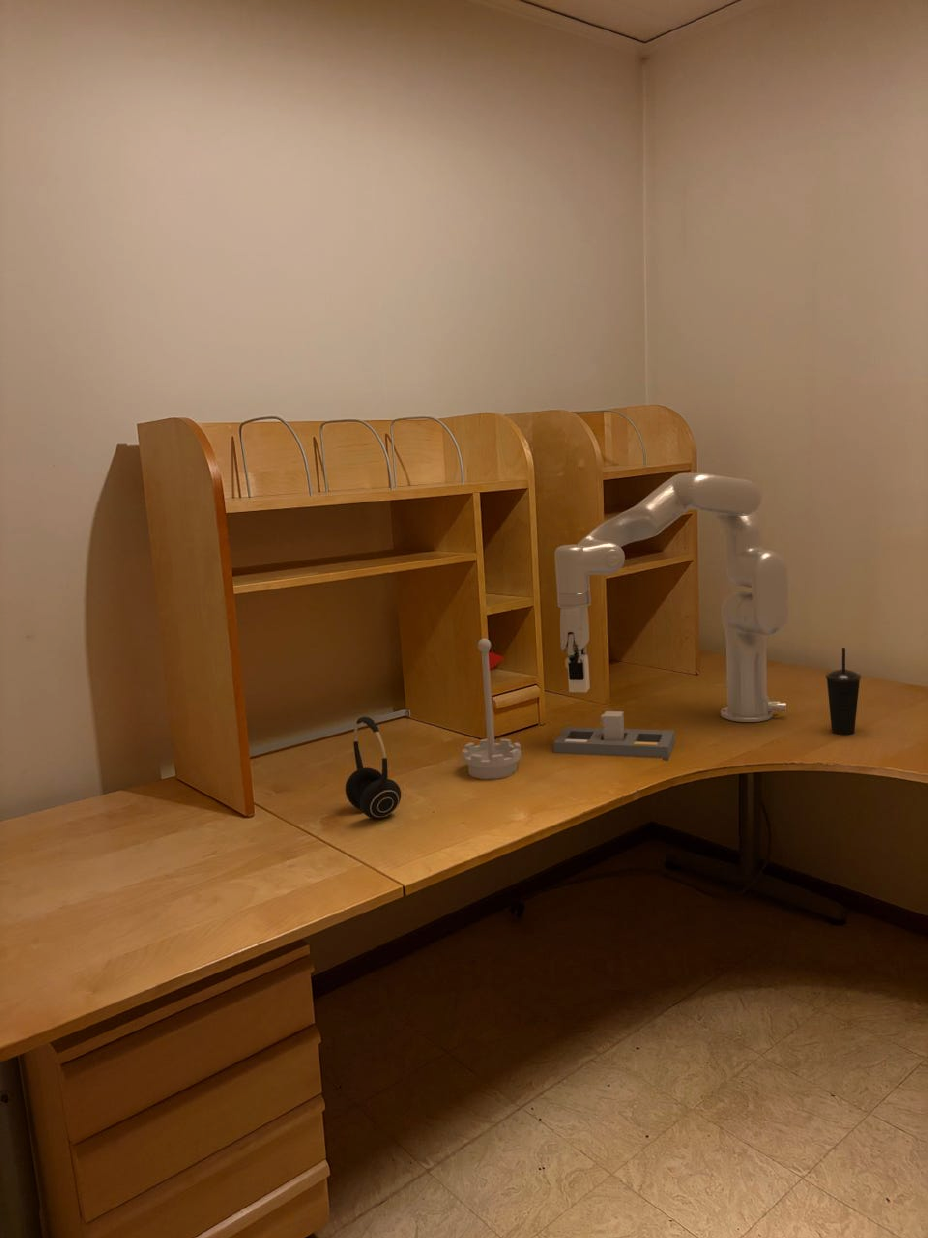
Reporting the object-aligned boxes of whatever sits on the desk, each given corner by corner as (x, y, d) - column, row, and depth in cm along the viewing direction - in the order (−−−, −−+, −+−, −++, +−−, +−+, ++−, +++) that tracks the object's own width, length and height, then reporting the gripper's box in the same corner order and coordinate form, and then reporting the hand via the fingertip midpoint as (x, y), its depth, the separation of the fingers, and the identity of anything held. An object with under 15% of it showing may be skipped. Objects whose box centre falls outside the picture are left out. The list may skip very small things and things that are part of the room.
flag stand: (485, 785, 199) (476, 648, 194) (452, 770, 210) (443, 639, 205) (533, 770, 206) (526, 637, 201) (499, 756, 217) (491, 630, 212)
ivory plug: (589, 687, 218) (587, 654, 217) (586, 692, 214) (584, 658, 213) (570, 687, 220) (567, 654, 218) (566, 692, 216) (564, 658, 214)
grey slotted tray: (674, 743, 218) (673, 708, 216) (668, 760, 207) (666, 723, 205) (565, 738, 226) (564, 705, 225) (553, 754, 215) (552, 719, 214)
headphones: (379, 797, 196) (371, 706, 192) (410, 819, 183) (402, 721, 180) (341, 807, 192) (332, 714, 188) (370, 830, 179) (361, 730, 176)
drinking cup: (854, 726, 220) (855, 644, 217) (865, 736, 213) (866, 651, 209) (821, 727, 221) (821, 645, 218) (830, 737, 214) (830, 652, 210)
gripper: (566, 593, 222) (571, 667, 225) (548, 606, 207) (554, 686, 210) (597, 592, 219) (601, 667, 223) (582, 605, 204) (587, 686, 207)
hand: (578, 676), depth 216 cm, fingers closed on ivory plug, 4 cm apart
